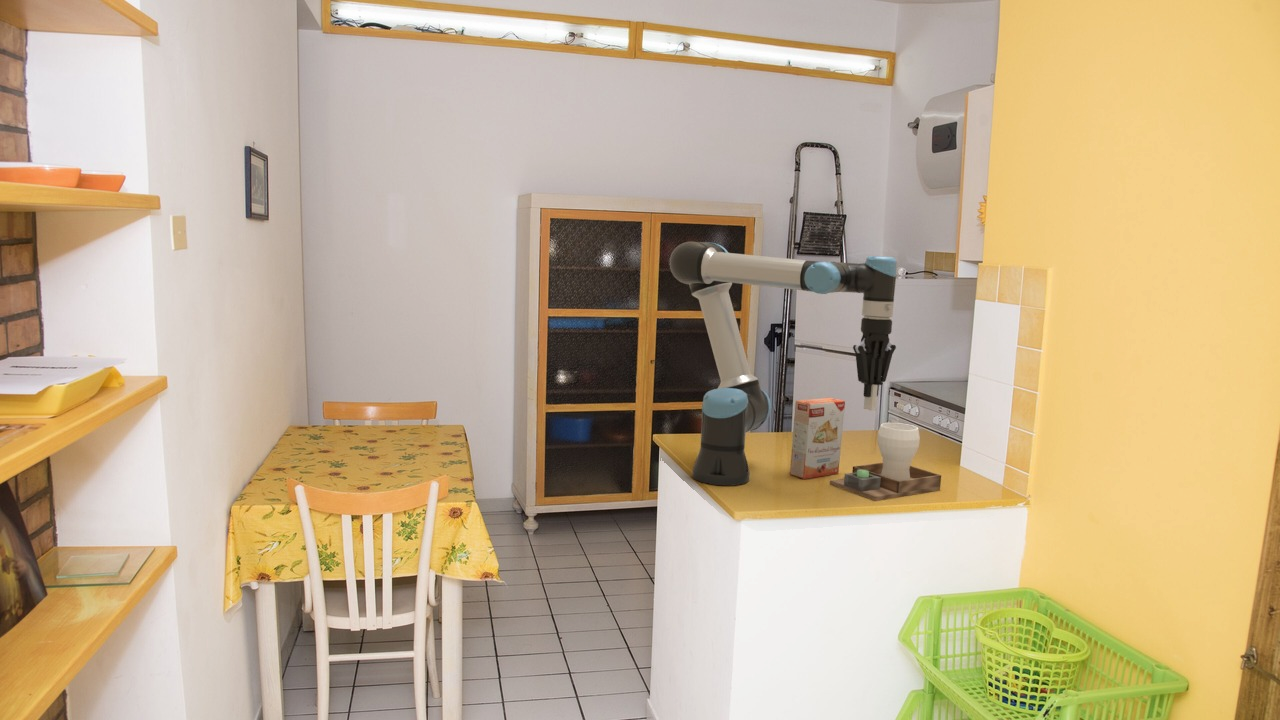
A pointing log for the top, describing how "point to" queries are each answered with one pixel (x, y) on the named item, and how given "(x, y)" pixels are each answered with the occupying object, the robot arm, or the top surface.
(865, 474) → the button
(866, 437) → the top surface
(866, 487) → the wooden tray
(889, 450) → the cup
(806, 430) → the cracker box
